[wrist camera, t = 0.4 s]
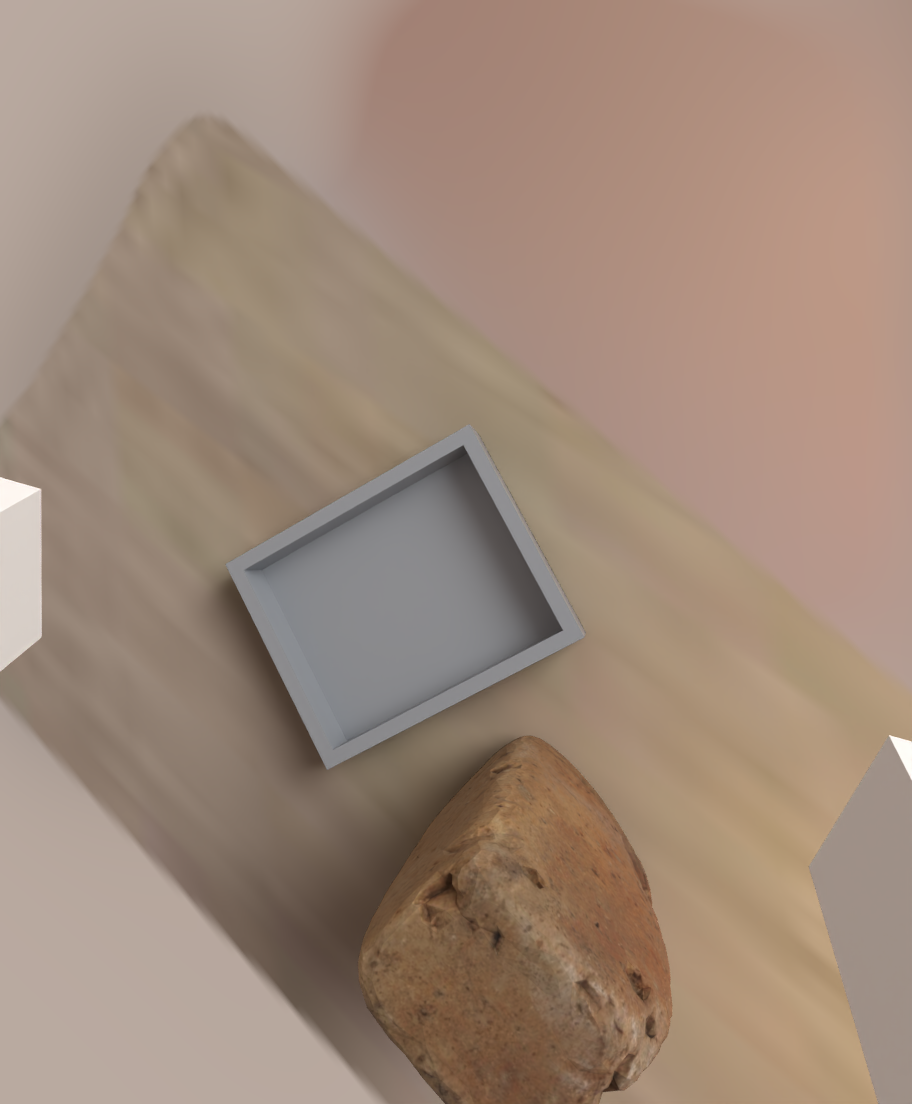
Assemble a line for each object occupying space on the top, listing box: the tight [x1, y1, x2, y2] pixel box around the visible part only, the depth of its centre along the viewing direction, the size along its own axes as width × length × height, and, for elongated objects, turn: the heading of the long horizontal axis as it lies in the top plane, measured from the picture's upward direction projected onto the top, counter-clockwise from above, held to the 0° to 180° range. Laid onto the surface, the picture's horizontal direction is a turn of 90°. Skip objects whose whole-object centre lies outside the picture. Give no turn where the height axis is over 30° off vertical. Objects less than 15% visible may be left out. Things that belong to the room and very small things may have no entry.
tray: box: [226, 424, 586, 770], centre depth 45 cm, size 13×16×3 cm
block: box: [358, 736, 672, 1104], centre depth 35 cm, size 11×8×20 cm
